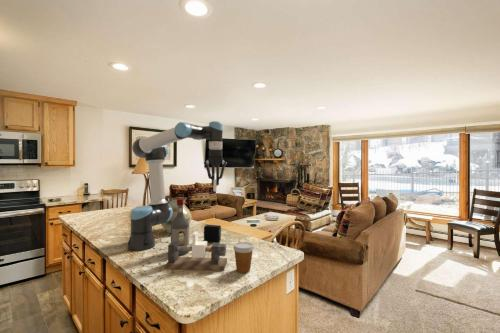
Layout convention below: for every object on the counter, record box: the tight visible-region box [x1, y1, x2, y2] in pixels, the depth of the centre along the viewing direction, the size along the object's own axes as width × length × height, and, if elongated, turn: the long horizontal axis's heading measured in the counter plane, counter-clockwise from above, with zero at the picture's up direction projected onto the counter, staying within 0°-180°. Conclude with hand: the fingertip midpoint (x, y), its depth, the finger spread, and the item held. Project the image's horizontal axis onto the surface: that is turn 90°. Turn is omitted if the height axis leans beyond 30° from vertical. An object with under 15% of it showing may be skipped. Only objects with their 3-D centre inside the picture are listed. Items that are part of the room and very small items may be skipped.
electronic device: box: [203, 224, 222, 244], centre depth 158 cm, size 4×10×10 cm, turn 78°
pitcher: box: [160, 196, 192, 234], centre depth 180 cm, size 22×24×25 cm
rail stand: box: [165, 241, 228, 272], centre depth 121 cm, size 28×10×10 cm, turn 87°
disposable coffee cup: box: [233, 241, 254, 274], centre depth 116 cm, size 10×10×12 cm
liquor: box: [170, 198, 190, 256], centre depth 138 cm, size 9×9×30 cm
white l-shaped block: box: [191, 230, 208, 258], centre depth 121 cm, size 6×6×11 cm
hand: (215, 191), depth 139 cm, fingers closed
